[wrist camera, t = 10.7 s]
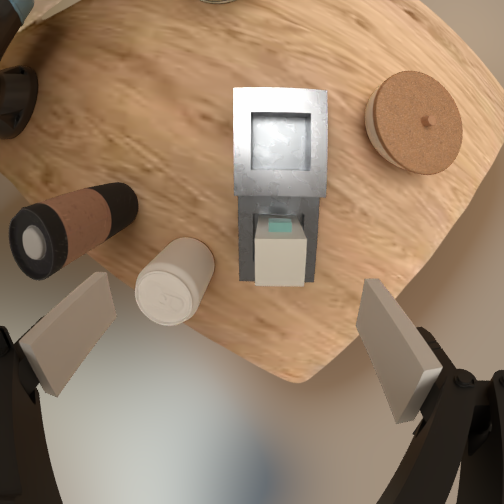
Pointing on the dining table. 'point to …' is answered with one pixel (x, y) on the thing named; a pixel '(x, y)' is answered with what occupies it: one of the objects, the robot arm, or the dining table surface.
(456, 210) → the dining table surface
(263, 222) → the plug
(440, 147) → the lidded bowl
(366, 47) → the dining table surface
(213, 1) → the coffee can
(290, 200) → the grey stepped socket block
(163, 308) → the beverage can
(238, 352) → the dining table surface
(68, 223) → the travel mug
